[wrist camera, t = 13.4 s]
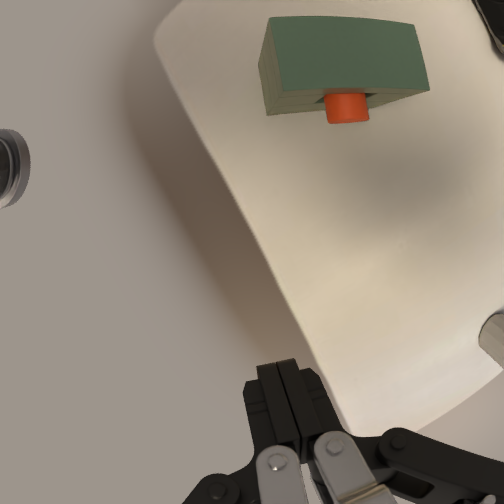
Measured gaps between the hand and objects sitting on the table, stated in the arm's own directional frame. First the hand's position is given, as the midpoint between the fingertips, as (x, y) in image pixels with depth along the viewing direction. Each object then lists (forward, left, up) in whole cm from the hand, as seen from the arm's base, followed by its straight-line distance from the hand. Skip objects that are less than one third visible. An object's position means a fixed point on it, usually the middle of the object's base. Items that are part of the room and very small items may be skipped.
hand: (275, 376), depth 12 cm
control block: (+1, +18, -23) cm, 29 cm away
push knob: (+2, +15, -17) cm, 23 cm away
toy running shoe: (+22, +46, -23) cm, 56 cm away
